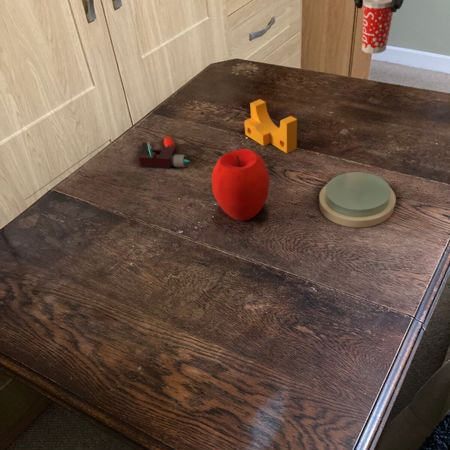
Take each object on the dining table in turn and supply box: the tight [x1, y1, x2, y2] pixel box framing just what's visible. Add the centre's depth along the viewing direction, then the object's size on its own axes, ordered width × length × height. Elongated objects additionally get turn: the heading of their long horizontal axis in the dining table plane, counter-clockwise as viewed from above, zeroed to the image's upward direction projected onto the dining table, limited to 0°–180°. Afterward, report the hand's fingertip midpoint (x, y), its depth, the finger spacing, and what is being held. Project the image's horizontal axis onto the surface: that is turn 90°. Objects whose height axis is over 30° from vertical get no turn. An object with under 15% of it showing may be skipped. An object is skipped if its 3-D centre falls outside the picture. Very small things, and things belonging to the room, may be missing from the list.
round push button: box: [318, 171, 397, 229], centre depth 86 cm, size 13×13×3 cm
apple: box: [211, 148, 270, 222], centre depth 84 cm, size 10×10×12 cm
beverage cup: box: [361, 0, 394, 55], centre depth 92 cm, size 6×6×14 cm
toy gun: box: [136, 136, 191, 169], centre depth 102 cm, size 10×12×5 cm
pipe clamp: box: [244, 98, 298, 154], centre depth 102 cm, size 12×4×6 cm, turn 34°
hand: (374, 7), depth 91 cm, fingers closed on beverage cup, 6 cm apart
